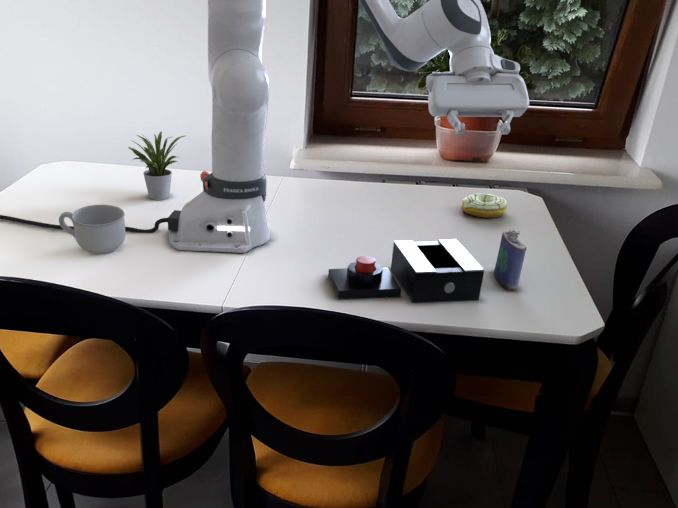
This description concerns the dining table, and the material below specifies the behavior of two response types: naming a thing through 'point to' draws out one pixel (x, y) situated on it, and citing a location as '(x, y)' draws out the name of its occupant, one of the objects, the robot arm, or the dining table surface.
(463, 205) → the decorated donut
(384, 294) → the control block
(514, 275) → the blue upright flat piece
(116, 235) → the teacup
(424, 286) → the glossy black box
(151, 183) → the house plant
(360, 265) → the stop button
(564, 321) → the dining table surface
